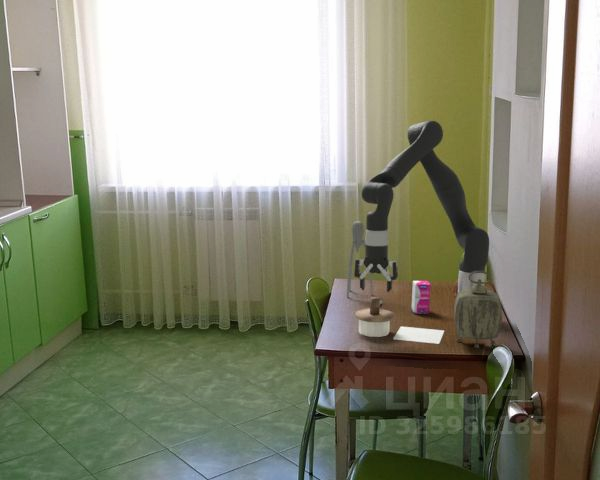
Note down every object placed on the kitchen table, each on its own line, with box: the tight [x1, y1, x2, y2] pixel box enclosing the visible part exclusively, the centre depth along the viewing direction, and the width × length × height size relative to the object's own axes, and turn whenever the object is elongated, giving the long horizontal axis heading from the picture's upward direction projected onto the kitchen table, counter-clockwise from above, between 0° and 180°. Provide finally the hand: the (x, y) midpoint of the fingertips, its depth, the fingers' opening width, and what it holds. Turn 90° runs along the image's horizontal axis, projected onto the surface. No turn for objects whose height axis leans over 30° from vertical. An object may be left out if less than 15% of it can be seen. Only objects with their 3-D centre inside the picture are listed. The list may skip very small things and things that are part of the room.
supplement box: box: [411, 280, 432, 315], centre depth 286 cm, size 6×6×12 cm
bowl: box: [358, 319, 391, 338], centre depth 260 cm, size 10×10×6 cm
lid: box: [354, 296, 395, 322], centre depth 258 cm, size 13×13×6 cm
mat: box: [393, 325, 445, 345], centre depth 258 cm, size 15×15×1 cm
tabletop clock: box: [453, 270, 503, 349], centre depth 245 cm, size 14×9×25 cm, turn 81°
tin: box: [453, 279, 458, 301], centre depth 306 cm, size 15×3×8 cm, turn 148°
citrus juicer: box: [346, 220, 373, 298], centre depth 309 cm, size 11×10×30 cm
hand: (375, 290), depth 257 cm, fingers open, 8 cm apart
